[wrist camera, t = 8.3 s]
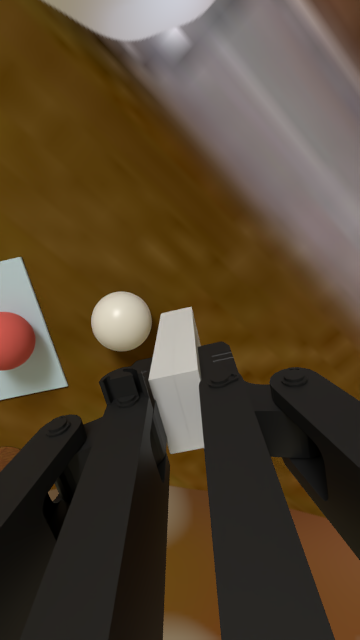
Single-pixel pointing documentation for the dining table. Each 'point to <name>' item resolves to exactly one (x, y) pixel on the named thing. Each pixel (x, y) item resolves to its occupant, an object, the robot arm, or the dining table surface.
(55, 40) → the dining table surface
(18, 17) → the dining table surface
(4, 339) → the red ball
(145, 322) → the cue ball
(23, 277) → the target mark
